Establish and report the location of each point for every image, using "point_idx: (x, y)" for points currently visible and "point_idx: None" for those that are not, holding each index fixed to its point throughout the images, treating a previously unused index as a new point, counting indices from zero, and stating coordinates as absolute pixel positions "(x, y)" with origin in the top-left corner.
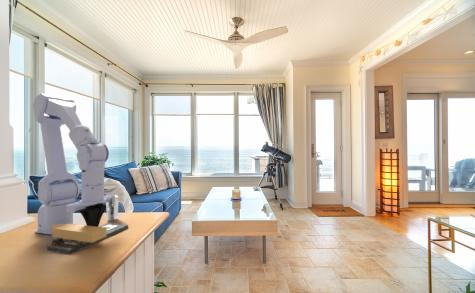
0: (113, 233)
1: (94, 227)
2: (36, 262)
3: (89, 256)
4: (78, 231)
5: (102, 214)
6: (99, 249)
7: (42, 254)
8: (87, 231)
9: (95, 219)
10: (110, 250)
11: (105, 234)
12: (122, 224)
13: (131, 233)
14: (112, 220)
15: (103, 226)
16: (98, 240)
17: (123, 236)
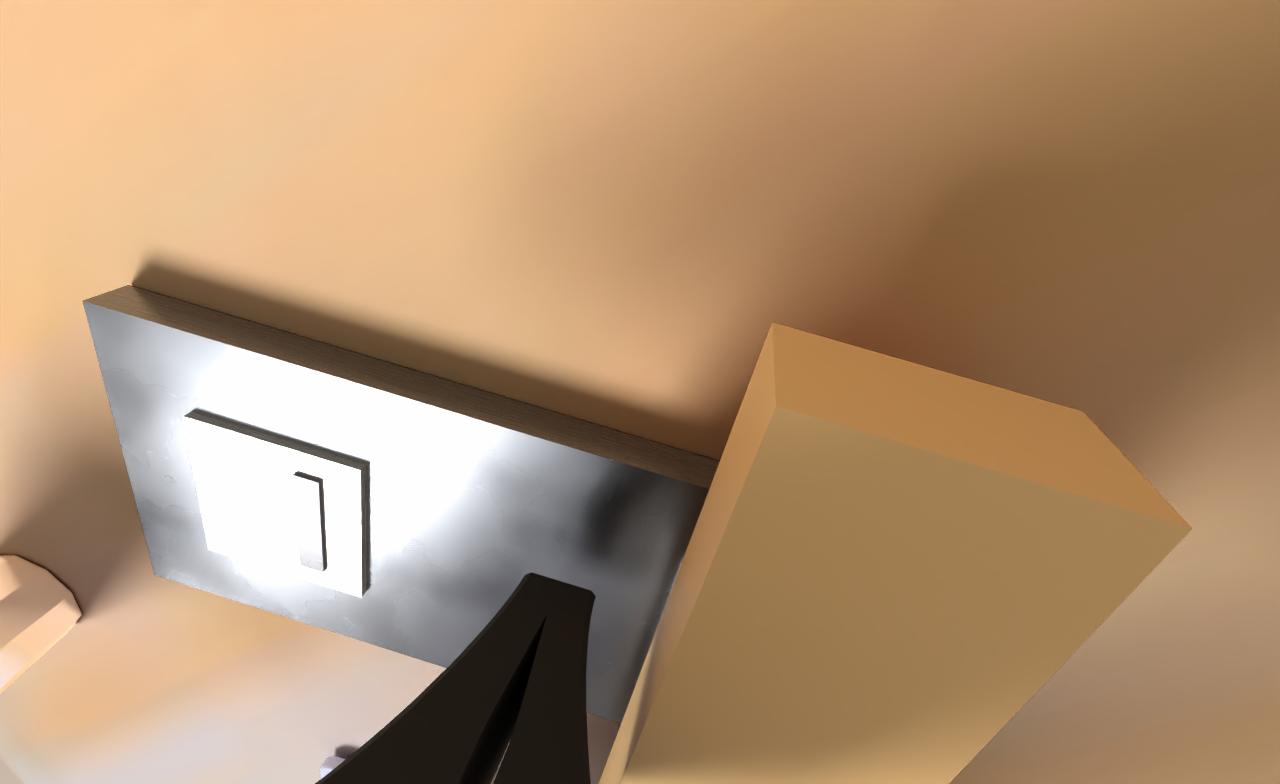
0: (393, 373)
1: (742, 632)
2: (1199, 735)
3: (1244, 285)
4: (959, 770)
5: (337, 777)
6: (965, 277)
7: (982, 762)
8: (997, 656)
9: (540, 771)
10: (1063, 45)
11: (791, 347)
12: (115, 392)
13: (283, 94)
14: (54, 578)
15: (275, 579)
16: (651, 445)
17: (431, 169)
